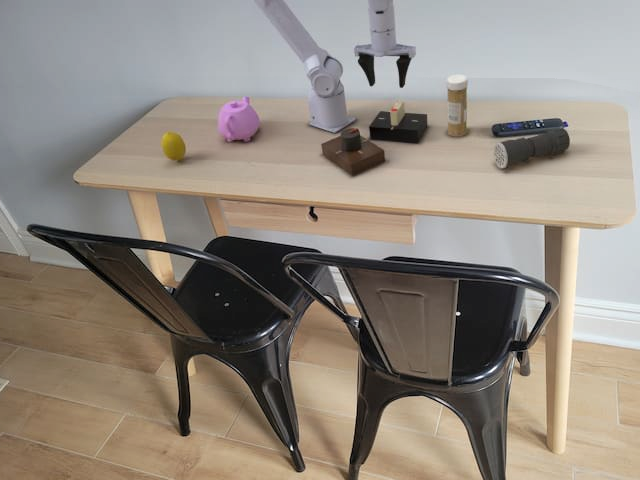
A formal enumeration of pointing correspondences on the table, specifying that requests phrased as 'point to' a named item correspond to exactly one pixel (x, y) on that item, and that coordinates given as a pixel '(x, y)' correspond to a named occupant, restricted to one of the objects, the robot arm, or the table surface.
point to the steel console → (398, 128)
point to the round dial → (351, 139)
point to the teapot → (238, 120)
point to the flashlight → (530, 147)
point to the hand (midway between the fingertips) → (387, 85)
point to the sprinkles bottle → (457, 105)
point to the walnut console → (353, 155)
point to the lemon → (173, 146)
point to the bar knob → (397, 113)
